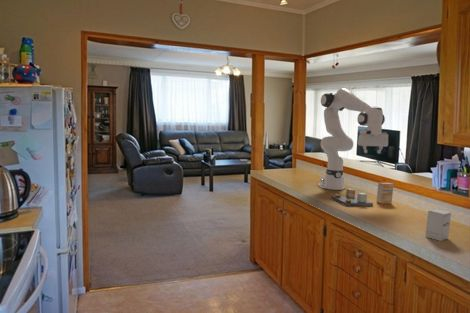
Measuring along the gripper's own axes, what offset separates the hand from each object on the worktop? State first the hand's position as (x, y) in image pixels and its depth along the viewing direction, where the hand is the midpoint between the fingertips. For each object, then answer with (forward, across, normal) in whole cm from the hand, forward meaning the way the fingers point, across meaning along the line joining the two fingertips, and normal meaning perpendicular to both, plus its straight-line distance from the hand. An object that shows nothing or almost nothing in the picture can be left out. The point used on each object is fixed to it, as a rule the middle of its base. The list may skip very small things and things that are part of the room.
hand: (372, 153), depth 254 cm
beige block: (+29, +13, 0) cm, 32 cm away
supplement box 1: (+31, -6, +9) cm, 33 cm away
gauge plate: (+31, +16, +7) cm, 36 cm away
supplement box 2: (+32, +11, +77) cm, 84 cm away
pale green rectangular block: (+29, +13, +14) cm, 35 cm away
